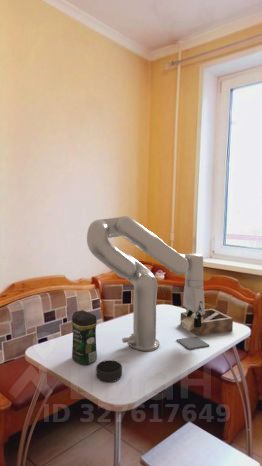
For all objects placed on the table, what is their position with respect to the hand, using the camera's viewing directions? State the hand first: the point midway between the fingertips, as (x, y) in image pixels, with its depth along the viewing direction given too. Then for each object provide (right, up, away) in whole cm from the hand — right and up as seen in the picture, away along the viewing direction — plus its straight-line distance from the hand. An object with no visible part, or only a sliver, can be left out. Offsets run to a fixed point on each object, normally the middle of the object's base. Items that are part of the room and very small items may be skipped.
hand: (194, 324), depth 140 cm
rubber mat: (-1, -8, +1) cm, 8 cm away
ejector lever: (+10, -4, +19) cm, 22 cm away
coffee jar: (-45, -10, -15) cm, 48 cm away
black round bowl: (-35, -11, -27) cm, 45 cm away
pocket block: (+10, -7, +20) cm, 23 cm away
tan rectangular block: (0, 0, 0) cm, 0 cm away
